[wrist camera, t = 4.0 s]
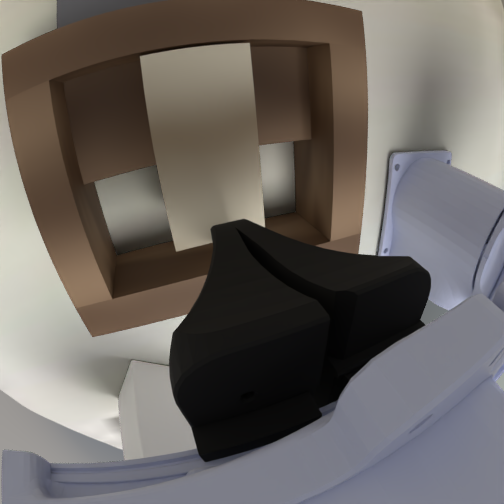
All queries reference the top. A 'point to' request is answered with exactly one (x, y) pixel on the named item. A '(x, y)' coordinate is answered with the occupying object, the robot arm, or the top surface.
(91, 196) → the walnut frame
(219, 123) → the birch tile
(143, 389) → the milk
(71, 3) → the charcoal mat
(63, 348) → the top surface
